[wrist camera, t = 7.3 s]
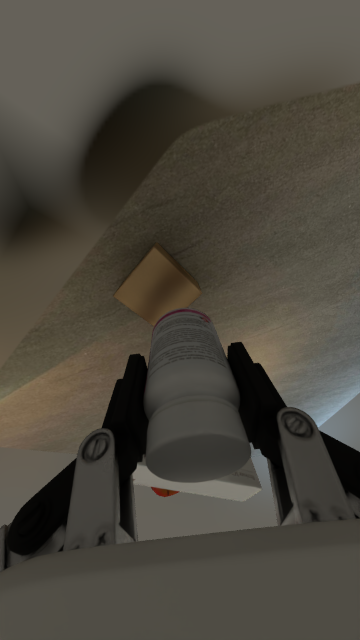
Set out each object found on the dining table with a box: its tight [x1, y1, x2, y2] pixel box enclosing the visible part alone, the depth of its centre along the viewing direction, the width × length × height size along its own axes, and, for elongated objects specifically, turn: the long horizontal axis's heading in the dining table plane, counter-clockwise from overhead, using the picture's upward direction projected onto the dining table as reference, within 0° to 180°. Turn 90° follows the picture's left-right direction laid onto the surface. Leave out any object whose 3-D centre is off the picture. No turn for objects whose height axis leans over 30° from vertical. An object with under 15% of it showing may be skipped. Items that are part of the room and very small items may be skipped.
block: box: [113, 242, 202, 326], centre depth 25 cm, size 8×8×4 cm
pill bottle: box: [143, 308, 251, 483], centre depth 10 cm, size 5×5×8 cm
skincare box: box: [133, 454, 262, 501], centre depth 32 cm, size 21×5×16 cm, turn 60°
